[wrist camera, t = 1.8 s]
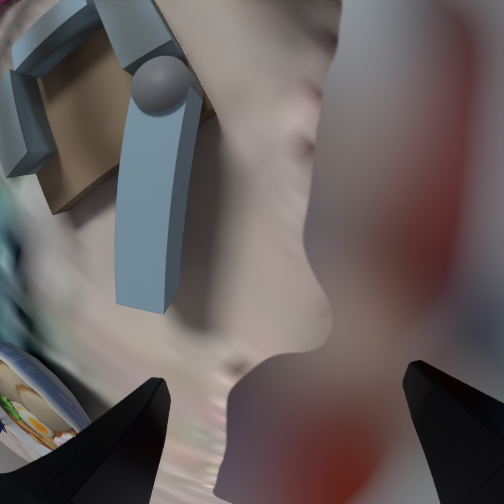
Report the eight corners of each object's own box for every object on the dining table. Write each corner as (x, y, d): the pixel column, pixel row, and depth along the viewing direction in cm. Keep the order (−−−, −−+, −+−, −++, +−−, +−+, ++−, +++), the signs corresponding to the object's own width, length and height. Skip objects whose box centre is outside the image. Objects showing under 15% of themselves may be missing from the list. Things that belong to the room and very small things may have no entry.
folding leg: (161, 77, 14) (137, 56, 10) (207, 78, 14) (194, 55, 10) (137, 280, 18) (114, 306, 14) (179, 288, 18) (162, 317, 14)
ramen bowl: (114, 458, 30) (100, 495, 22) (4, 387, 27) (-18, 414, 19) (137, 371, 23) (107, 433, 15) (-15, 267, 20) (-60, 293, 12)
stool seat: (148, -10, 13) (124, -43, 8) (216, 114, 17) (200, 93, 11) (25, 86, 15) (-14, 78, 10) (67, 210, 18) (23, 225, 13)
